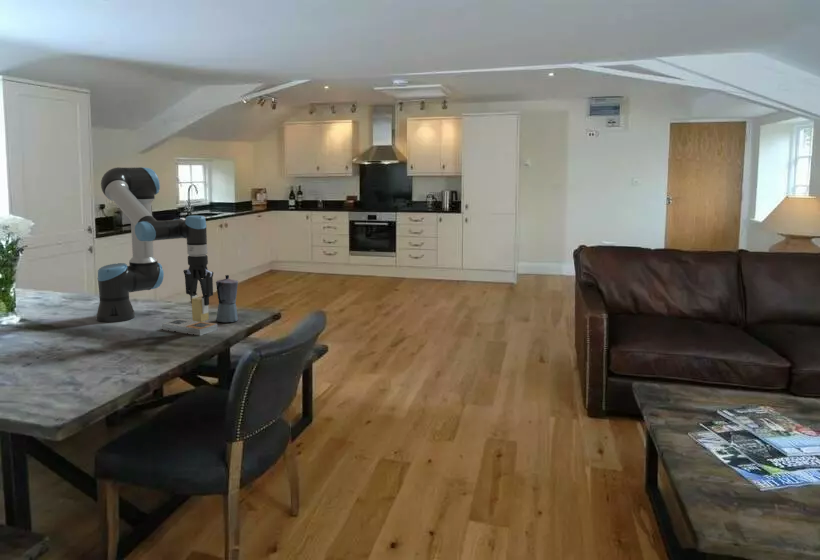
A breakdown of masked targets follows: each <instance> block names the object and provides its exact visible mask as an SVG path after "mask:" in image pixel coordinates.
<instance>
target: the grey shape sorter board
mask: <svg viewBox="0 0 820 560" xmlns="http://www.w3.org/2000/svg"><path fill="white" fill-rule="evenodd" d="M162 329H163V330H164V331H168V330H169V332H174V331H176V333H181V334H187V333H188V334H189V335H193V334H194V336H204V335H205V334H206V335H207V334H210V333H211V332H212V333H213V332H216V331H218V323H215V322H207V321H203V322H198V321H193V319H187V318H177V319H174V320H169V321H167V322H163V323H161V330H162ZM163 330H162V331H163Z"/></svg>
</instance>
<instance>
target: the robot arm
mask: <svg viewBox="0 0 820 560" xmlns="http://www.w3.org/2000/svg"><path fill="white" fill-rule="evenodd" d="M100 188H101V191H102V193H103V194H104V196H105V197H106V199H108V200H109V201H112V202H114V203H115V205H117V207H118V208H119V209H120V210H121V211H122V212H123V214H124V215H125V216H126V217H127V218H128V219H129V221H130V231H131V248H132V249H131V250H132V257H131V258H130V259H129V260H128V261H129V262H128V263H129V264H128V265H127V264H126V263H124V262H120V263H119V262H118V263H110V264H106V265H104V266H101V267H100V268H99V269H98V270H97V284H98V297H99V303H98V308H97V312H96V321H98V322H101V323H117V322H125V321H128V320H132V319H134V318H136V314H135V310H134V308H133V305H132V303H131V301H130V293H135V292H141V291H142V292H143V291H150V290H154V289H158V288H159V287H160V286H161V285H162V283H163V281H164V276H165V275H164V274H165V273H164V269H163V265H162V263H160V262H158V259H157V258H156V257H155V254H154V241H155V242H156V241H163V240H178V239H185V240H186V249H187V250H186V252H187V265H188V268H187V269H183V272H182V273H183V275H184V282H185V283H184V284H185V285H184V286H185V293H186V295H189V296H190V303H191V305H192V299H193V298H197V297H199V296H198V293H197V290H198V282H199V285H200V288H201V294H202V296H201V297H202V298H201V299H202V314H205V313H208V312H209V306H210V297H211V296H212V297H213V296H214V283H213V282H214V281H213V280H214V279H213V277H214V273H215V272H214V271H210V270H209V269H208V266H207V265H208V264H209V258H208V255H207V254H208V239H207V238H208V237H207V235H208V233H207V221H206V217H205V216H203V215H188V216H186V217H185V219H183V218H174V219H170V220H169V219H168V220H157V219H156V218H155V217H154V216H153V215H152V214H153V212H152V202H154V201H155V199H156V198H155V197H156V195H158V194H159V192H160V188H161V185H160V180H159V176H158V175H157V174H156V172H155V170H153V169H152V168H149V167H143V166H141V167H139V166H138V167H113V168H110V169H109V170H106V172H105V173H104V174H103V176H102V177H101V181H100Z"/></svg>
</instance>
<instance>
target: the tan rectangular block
mask: <svg viewBox="0 0 820 560" xmlns="http://www.w3.org/2000/svg"><path fill="white" fill-rule="evenodd" d="M202 297H203V296H198V297H197V298H193V299H192V304H191V314H192V315H191V317H192V320H193V321H198V322H207V321H209V320H210V317H209V316H210V315H209V314H210V313H209V311H208V313H205V314H202V299H201V298H202Z"/></svg>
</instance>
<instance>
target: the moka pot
mask: <svg viewBox="0 0 820 560" xmlns="http://www.w3.org/2000/svg"><path fill="white" fill-rule="evenodd" d="M229 276H230V275H229V274H226V275H225V278H224V279H219V280H216V282H215V284H216V291H217V292H216V293H217V299H218V304H217V306H218V307H217V312H216V313H217V314H216V322H219V323H234V322H237V321H238V320H239V319H238V310H237V309H238V307H237V304H236V303H237V295H238V285H239V281H238V280H235V279H230V278H229Z"/></svg>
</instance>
